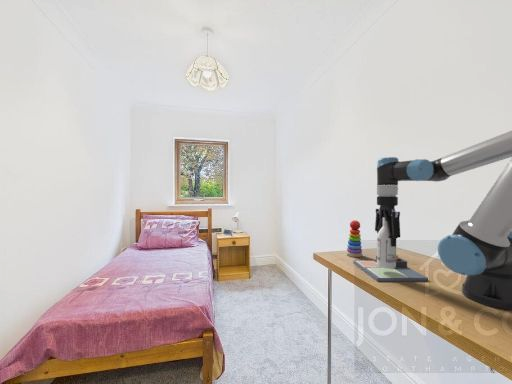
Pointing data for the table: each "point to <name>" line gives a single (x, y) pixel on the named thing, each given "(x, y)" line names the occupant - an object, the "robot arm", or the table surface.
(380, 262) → the bath foam
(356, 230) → the stacking toy
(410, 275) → the picture board
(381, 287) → the table surface
